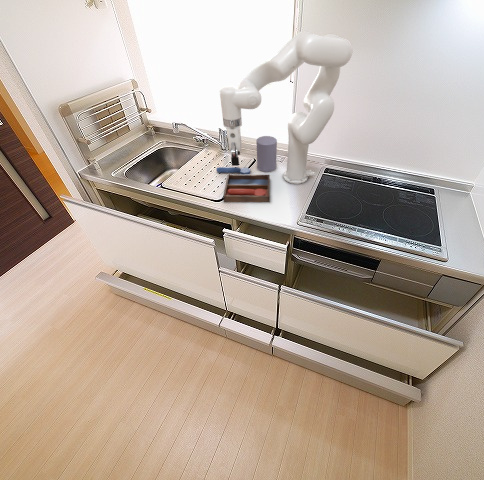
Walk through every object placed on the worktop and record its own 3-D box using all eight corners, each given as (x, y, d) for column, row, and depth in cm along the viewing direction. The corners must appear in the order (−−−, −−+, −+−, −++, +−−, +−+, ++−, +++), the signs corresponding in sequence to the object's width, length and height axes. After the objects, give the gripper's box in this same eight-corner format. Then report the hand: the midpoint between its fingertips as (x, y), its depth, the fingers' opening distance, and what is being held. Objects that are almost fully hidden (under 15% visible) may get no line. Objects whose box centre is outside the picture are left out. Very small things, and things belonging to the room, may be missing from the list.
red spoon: (265, 191, 124) (265, 186, 122) (265, 198, 120) (265, 193, 118) (228, 190, 124) (227, 185, 122) (227, 197, 120) (226, 192, 118)
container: (272, 173, 137) (273, 146, 126) (254, 170, 139) (253, 143, 128) (278, 164, 144) (279, 137, 133) (261, 161, 146) (260, 134, 135)
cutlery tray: (269, 180, 132) (269, 174, 130) (269, 202, 119) (269, 196, 117) (228, 180, 132) (227, 174, 130) (224, 202, 119) (223, 196, 117)
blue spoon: (250, 169, 139) (250, 165, 137) (250, 175, 135) (249, 170, 133) (217, 169, 139) (216, 164, 137) (216, 175, 135) (215, 170, 133)
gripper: (240, 130, 100) (243, 169, 112) (242, 113, 112) (244, 150, 124) (221, 130, 99) (226, 170, 112) (224, 113, 111) (229, 150, 124)
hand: (236, 159), depth 118 cm, fingers open, 9 cm apart
